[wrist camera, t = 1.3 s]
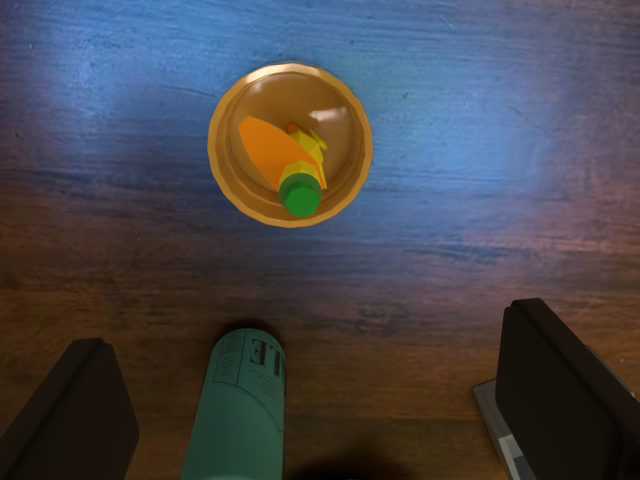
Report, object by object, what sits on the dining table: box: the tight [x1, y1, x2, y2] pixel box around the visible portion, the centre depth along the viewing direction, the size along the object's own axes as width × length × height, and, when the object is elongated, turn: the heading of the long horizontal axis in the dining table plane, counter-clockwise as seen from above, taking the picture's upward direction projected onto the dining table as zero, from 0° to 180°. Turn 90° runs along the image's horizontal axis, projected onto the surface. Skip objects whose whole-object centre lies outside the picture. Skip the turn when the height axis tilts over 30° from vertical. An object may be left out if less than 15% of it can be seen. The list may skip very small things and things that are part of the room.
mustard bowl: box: [207, 59, 373, 228], centre depth 29 cm, size 10×10×5 cm
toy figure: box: [238, 116, 328, 218], centre depth 26 cm, size 7×4×12 cm, turn 43°
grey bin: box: [472, 346, 634, 480], centre depth 41 cm, size 11×11×6 cm
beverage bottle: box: [180, 328, 287, 480], centre depth 30 cm, size 6×7×20 cm
